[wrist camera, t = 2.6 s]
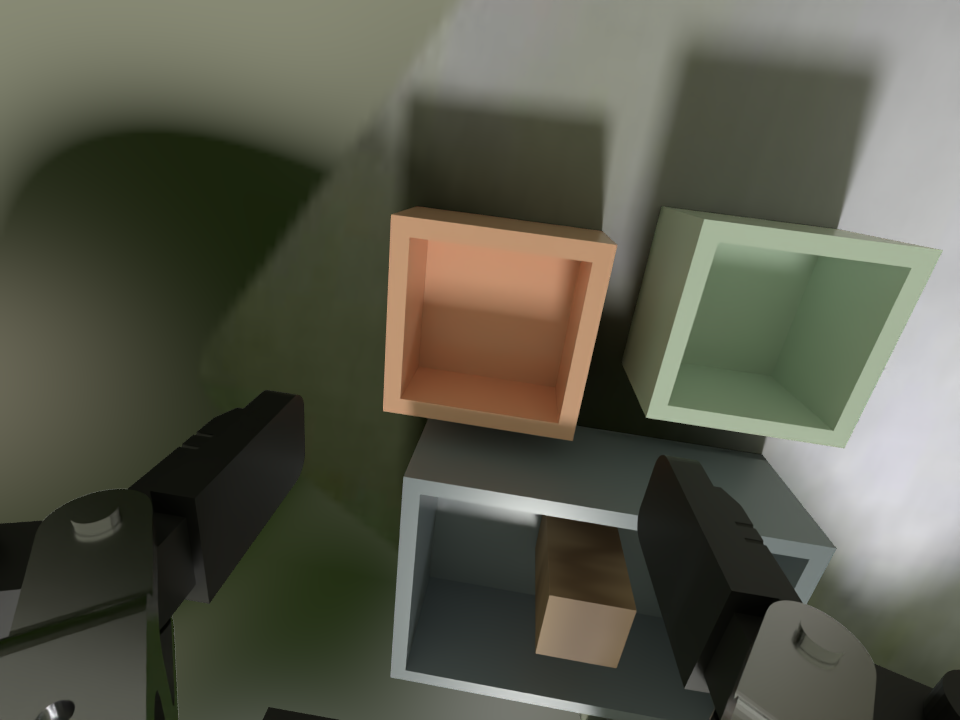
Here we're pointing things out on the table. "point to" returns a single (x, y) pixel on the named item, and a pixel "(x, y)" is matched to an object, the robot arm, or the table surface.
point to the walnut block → (581, 592)
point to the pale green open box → (768, 323)
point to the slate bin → (511, 561)
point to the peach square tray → (492, 319)
